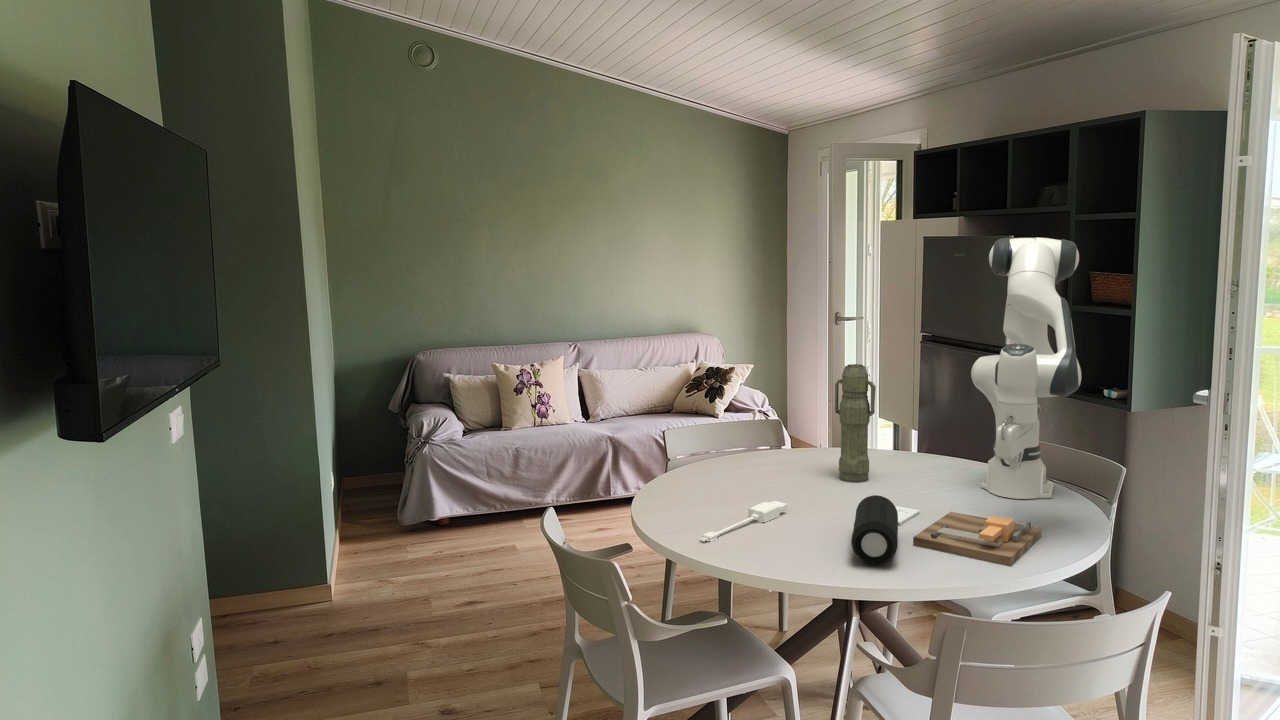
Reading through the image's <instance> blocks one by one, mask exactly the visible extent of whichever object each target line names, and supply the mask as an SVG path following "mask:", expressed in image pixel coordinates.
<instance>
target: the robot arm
mask: <svg viewBox="0 0 1280 720" xmlns="http://www.w3.org/2000/svg"><path fill="white" fill-rule="evenodd" d="M1077 246H1078V245H1077V244H1076V243H1075V242H1074V241H1071V240H1067V239H1064V238H1062V239H1055V238H1049V237H1017V238H1010V237H1005V238H1004V237H1003V238H999V239H997V240H996V241H995V242H994V243H993V245H992V247H991V249H990V251H989V254H988V262H989V265H990V268H991V270H990V271H992V272H993V274H995V275H998V276H999V277H1000V276H1001V277H1006V276H1008V279H1007V295H1006V303H1005V310H1004V319H1003V327H1002V328H1003V329H1002V331H1003V334H1004V335H1005V337H1006V338H1007V339H1008V340H1010V341H1011V342H1013V344H1007V345H1005V346H1004V347H1002V348H1001V351H1000V352H999V354H993V355H991V354H990V355H985V356H980V357H979V358H978V359H976V360H975V362H974V363H973V364H972V367H971V371H970V375H971V380H972V383H973V385H974V387H976V389H978V390H979V392H981V393H983V395H984V396H985V397H986V399H987V401H988V402H989V403H990V404H991V407H992V409H993V413H994V417H995V441H994V443H993V455H994V456H993V457H991V458H990V459H988V462H987V471H986V480H985V482H982V483H981V484H980V488H982V489H984V490H987V492H988V493H991V494H992V495H995V496H999V497H1002V498H1003V497H1004V498H1009V499H1017V500H1034V499H1052V496H1053V492H1054V488H1055V487H1054V486H1055V483H1054V482H1053V481H1050V480H1047V478H1046V476H1047V474H1046V473H1047V466H1046V465H1045V464H1044V462H1043V460H1042V459H1041V456H1042V455H1041V451H1042V449H1041V448H1042V442H1040V441H1039V440H1040V419H1039V416H1040V414H1041V406H1040V405H1039V404H1038V398H1042V399H1043V398H1053V397H1062V398H1063V397H1064V398H1067V397H1068V396H1070V395H1072V394H1073V393H1075V392H1077V390H1079V388H1080V386H1081V384H1082V383H1081V381H1082V370H1081V369H1082V368H1081V366H1080V365H1081V364H1080V363H1079V360H1078V358H1077V352H1076V343H1075V336H1074V329H1073V323H1072V317H1071V311H1070V307H1069V304H1068V301H1067V300H1066V299H1065V298H1064V297H1062V296H1060V295H1059V293H1058V292H1057V290H1056V285H1059V284H1060V282H1061V281H1064V280H1066V279H1068V278H1069V277H1071V276H1073V274H1074V272H1075V271H1076V270H1077V267H1078V266H1079V262H1080V253H1079V250H1078V247H1077ZM1048 325H1049V326H1050V327H1052V328H1053V330H1054V333H1055V340H1056V341H1055V342H1056V348H1057V352H1056V353H1055V352H1054V351H1053V349H1052V347H1051V345H1050V341H1049V337H1048Z"/></svg>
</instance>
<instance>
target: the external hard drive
mask: <svg viewBox="0 0 1280 720" xmlns="http://www.w3.org/2000/svg"><path fill="white" fill-rule="evenodd" d="M894 506H895V507H896V510H897V513H898V527H901V526H902V525H904V524H906V523H907V522H909V521H910V520H912V519H913V518H915V517H917V516H918V515H920V510H918V509H914V508H910V507H909V508H908V507H903V506H898V505H894Z"/></svg>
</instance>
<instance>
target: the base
mask: <svg viewBox="0 0 1280 720" xmlns="http://www.w3.org/2000/svg"><path fill="white" fill-rule="evenodd" d="M996 517H998V516H996ZM988 518H989V517H988ZM988 518H987V517H982V516H977V515H970V514H965V513H964V514H963V513H959V512H955V511H949V512H948V513H946V514H945V515H943V516H942V517H941V518H939V519H938V520H936V521H934V522H933V523H931V525H929V526H927V527H926V528H925V529H923V530H921V531H920V532H919V533H917V534H915V535H914V536H913V537H912V545H913V546H915V547H920V548H924V549H929V550H935V551H938V552H942V553H949V554H952V555H953V554H954V555H958V556H962V557H967V558H971V559H976V560H981V561H985V562H990V563H994V564H999V565H1003V566H1008V567H1011V566H1013V565H1014V564H1015V563H1016V562H1017V561H1018V559H1019V558H1021V557H1022V556H1023V555H1024V554H1025V553H1026V552H1028V550H1029V549H1030V548H1031V547H1032V546H1033V545H1035V543H1037V542H1038V541H1039V540H1040V539H1041V538H1042V536H1043V535H1042V534H1043V533H1042V532H1043V528H1042V527H1036V526H1032V522H1031V521H1027V522H1026V523H1025V524H1020V523H1015V522H1014V535H1012V538H1011V539H1010V540H1009V541H1008V542H1004V543H1003V544H1001V545H1000V546H999V547H992V546H987V545H982V544H977V543H971V542H966V541H961V540H956V539H950V538H945V537H940V536H938V532H937V531H938V530H940V529H941V528H943V527H944V528H949V529H955V530H960V531H966V532H971V533H977V534H979V533H980V532H981V531H983V530H984V529H985V521H986V520H987V519H988Z"/></svg>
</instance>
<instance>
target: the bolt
mask: <svg viewBox="0 0 1280 720" xmlns="http://www.w3.org/2000/svg"><path fill="white" fill-rule="evenodd" d="M1014 523H1015V519H1011V518H1008V517H1007V518H1005V517H1000V516H997V517H996V516H995V515H991V516H989V517H988V519H987V520H986V521H985V529H984V530H983V531H981V532H980V533H979V539H983V540H988V541H994V540H995V539H996V538H997V537H998V538H1004V542H1008V541H1009V540H1010V539H1011V538H1012V535H1014Z"/></svg>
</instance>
